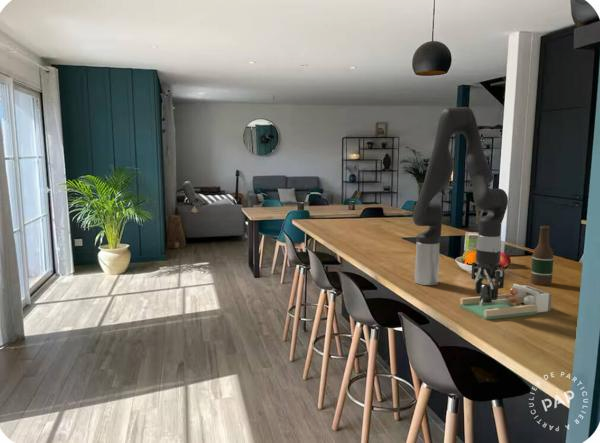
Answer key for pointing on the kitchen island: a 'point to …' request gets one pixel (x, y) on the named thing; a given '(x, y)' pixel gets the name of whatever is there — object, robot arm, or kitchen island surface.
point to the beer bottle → (542, 260)
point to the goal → (535, 296)
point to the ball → (528, 300)
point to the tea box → (470, 240)
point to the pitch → (496, 308)
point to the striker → (510, 299)
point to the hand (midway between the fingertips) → (486, 296)
